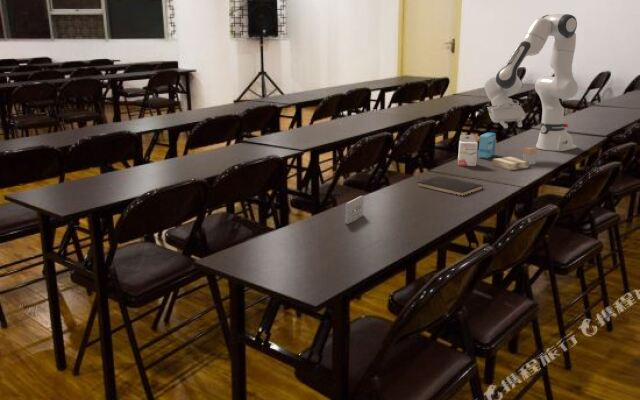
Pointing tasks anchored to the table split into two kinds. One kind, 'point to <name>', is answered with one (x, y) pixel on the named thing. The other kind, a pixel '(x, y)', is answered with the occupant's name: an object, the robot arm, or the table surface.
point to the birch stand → (510, 163)
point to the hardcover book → (450, 185)
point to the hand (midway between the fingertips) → (513, 126)
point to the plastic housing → (529, 154)
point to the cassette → (353, 213)
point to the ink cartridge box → (467, 151)
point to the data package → (487, 145)
